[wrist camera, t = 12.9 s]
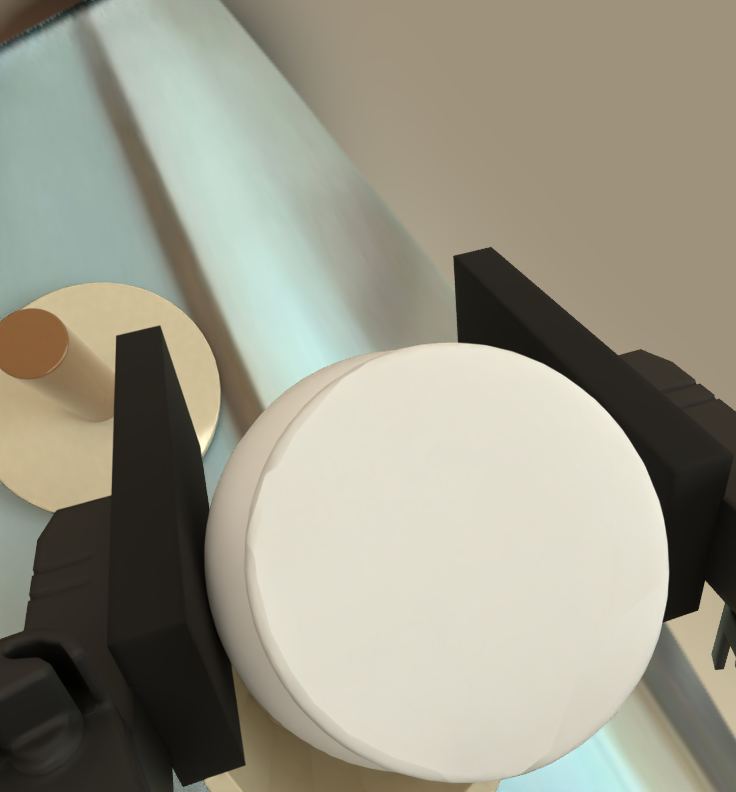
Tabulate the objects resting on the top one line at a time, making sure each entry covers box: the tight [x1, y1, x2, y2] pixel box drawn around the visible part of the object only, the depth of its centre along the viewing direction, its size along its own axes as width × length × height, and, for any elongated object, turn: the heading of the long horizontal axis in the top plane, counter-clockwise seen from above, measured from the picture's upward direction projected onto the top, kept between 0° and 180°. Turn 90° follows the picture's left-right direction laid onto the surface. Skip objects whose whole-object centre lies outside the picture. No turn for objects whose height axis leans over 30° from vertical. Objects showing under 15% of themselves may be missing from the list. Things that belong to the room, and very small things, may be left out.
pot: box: [203, 663, 500, 792], centre depth 28 cm, size 10×10×12 cm
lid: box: [0, 282, 221, 513], centre depth 30 cm, size 11×11×10 cm
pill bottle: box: [204, 343, 669, 783], centre depth 11 cm, size 5×5×10 cm
